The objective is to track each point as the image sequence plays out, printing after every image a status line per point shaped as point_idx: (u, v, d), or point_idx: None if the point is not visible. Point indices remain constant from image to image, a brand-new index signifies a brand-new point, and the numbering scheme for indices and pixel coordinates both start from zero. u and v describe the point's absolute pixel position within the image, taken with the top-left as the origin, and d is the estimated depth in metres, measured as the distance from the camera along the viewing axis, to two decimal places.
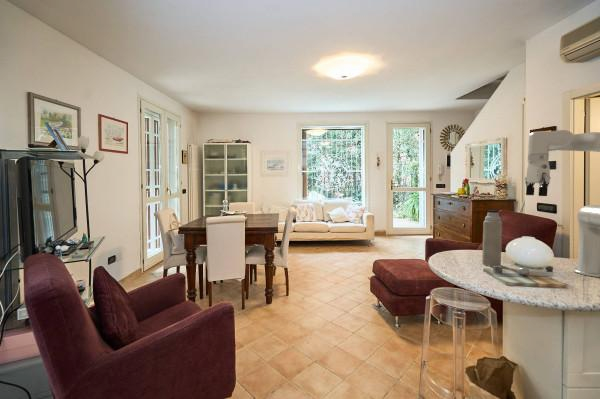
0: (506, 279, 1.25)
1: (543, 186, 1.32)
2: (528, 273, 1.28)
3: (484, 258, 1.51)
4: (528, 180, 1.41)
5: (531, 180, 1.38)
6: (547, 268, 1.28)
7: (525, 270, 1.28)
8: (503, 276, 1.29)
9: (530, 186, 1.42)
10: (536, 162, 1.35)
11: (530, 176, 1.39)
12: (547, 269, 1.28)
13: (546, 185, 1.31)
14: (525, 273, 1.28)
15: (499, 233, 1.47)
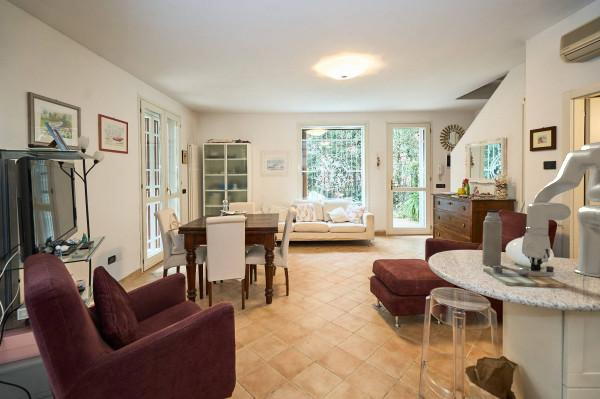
0: (506, 279, 1.25)
1: None
2: (528, 273, 1.28)
3: (484, 258, 1.51)
4: None
5: None
6: (548, 268, 1.27)
7: (525, 270, 1.28)
8: (503, 276, 1.29)
9: None
10: None
11: None
12: (548, 269, 1.27)
13: None
14: (525, 273, 1.28)
15: (499, 233, 1.47)
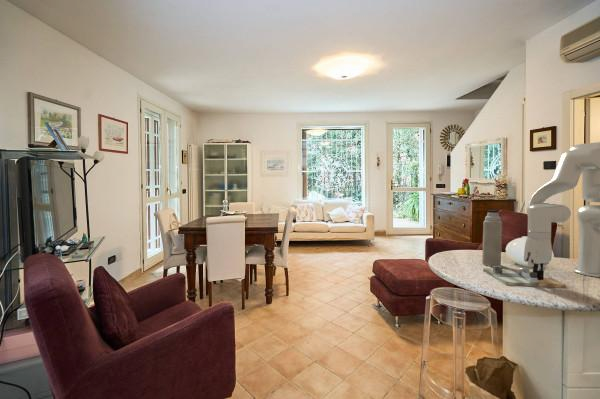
0: (506, 279, 1.25)
1: None
2: (520, 273, 1.29)
3: (484, 258, 1.51)
4: (539, 261, 1.20)
5: (543, 260, 1.20)
6: None
7: None
8: (503, 276, 1.29)
9: None
10: (549, 240, 1.21)
11: (543, 256, 1.20)
12: None
13: None
14: None
15: (499, 233, 1.47)
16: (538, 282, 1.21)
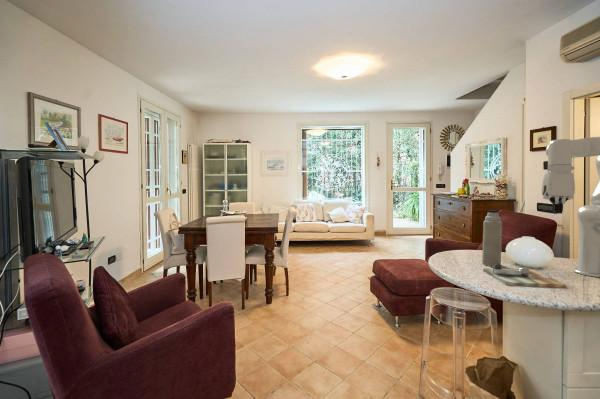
0: (506, 279, 1.25)
1: None
2: None
3: (484, 258, 1.51)
4: (554, 193, 1.23)
5: (561, 193, 1.22)
6: None
7: None
8: (503, 276, 1.29)
9: None
10: (571, 173, 1.21)
11: (560, 189, 1.22)
12: None
13: None
14: None
15: (499, 233, 1.47)
16: (538, 282, 1.21)
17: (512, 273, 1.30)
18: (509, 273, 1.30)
